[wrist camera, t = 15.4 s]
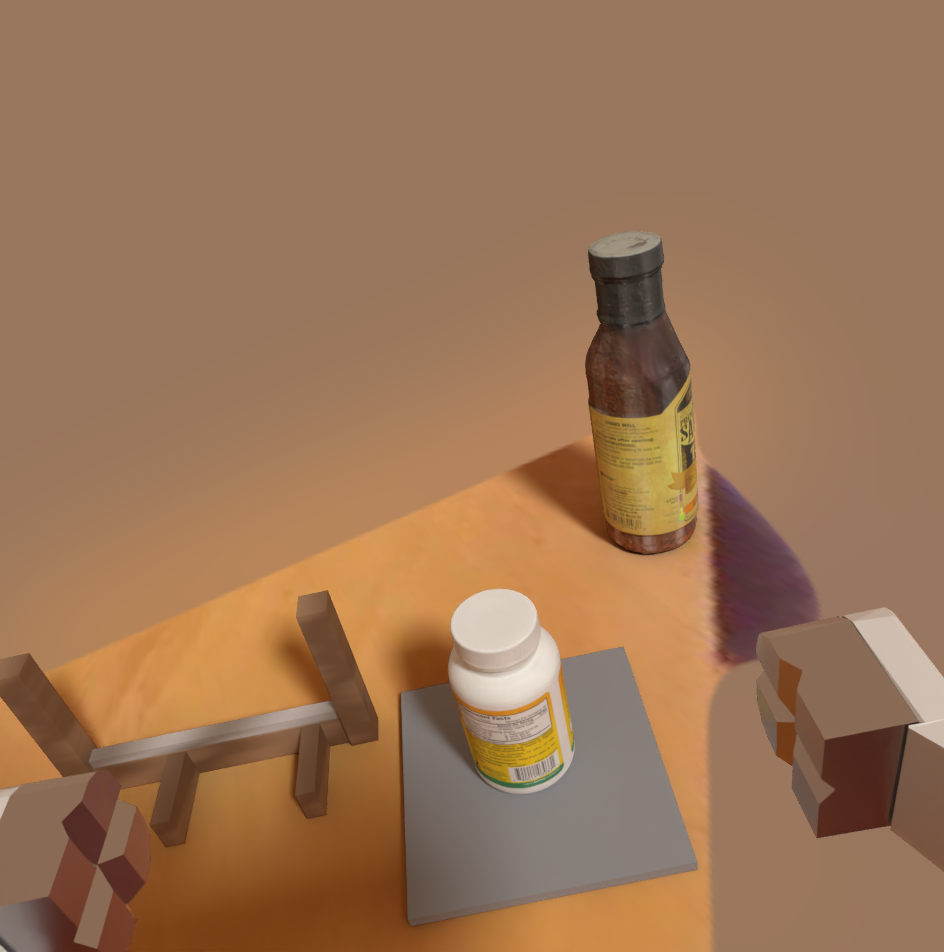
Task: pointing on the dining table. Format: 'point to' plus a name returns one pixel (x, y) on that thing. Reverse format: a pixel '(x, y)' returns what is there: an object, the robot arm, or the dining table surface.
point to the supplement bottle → (510, 692)
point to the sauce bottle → (640, 400)
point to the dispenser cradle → (210, 730)
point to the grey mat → (538, 804)
